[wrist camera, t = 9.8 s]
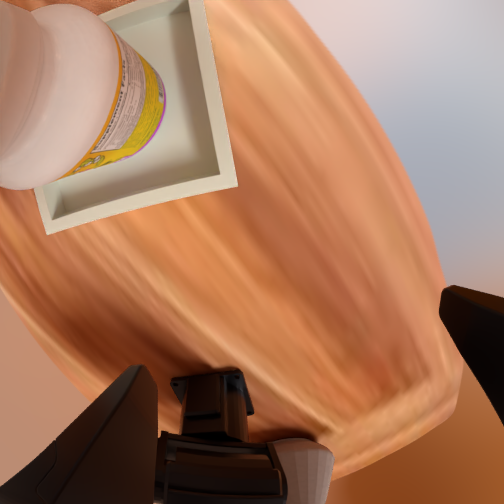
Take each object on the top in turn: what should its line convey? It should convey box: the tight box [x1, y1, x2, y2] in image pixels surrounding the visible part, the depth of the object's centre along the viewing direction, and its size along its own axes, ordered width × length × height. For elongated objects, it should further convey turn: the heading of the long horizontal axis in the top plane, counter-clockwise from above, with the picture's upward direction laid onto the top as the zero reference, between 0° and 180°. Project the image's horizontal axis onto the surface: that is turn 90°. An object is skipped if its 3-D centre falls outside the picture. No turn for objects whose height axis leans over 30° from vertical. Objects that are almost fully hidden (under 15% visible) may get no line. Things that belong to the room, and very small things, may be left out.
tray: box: [34, 0, 238, 235], centre depth 14 cm, size 13×13×2 cm
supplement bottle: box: [0, 0, 167, 190], centre depth 8 cm, size 7×7×13 cm
